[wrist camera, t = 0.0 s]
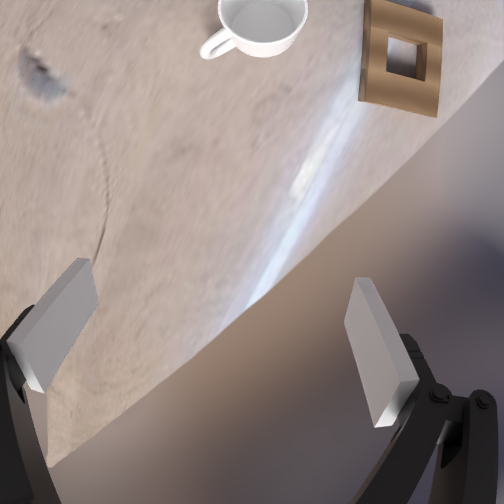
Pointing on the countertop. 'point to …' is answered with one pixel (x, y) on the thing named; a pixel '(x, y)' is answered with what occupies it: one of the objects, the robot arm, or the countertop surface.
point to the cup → (256, 27)
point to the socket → (375, 58)
